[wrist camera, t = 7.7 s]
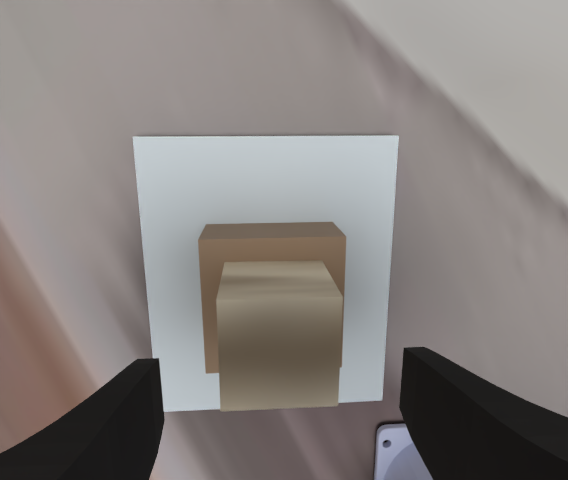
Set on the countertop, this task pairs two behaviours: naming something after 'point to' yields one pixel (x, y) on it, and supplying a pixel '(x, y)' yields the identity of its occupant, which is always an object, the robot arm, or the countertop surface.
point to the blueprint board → (254, 197)
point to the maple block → (278, 335)
